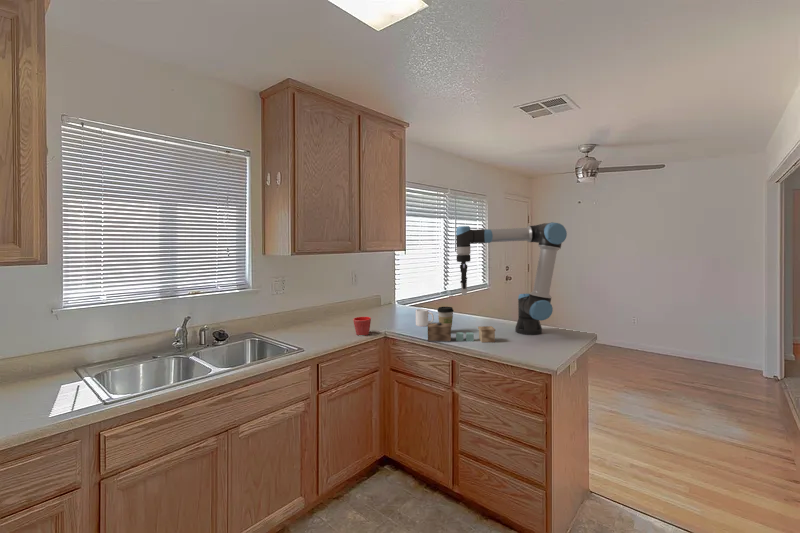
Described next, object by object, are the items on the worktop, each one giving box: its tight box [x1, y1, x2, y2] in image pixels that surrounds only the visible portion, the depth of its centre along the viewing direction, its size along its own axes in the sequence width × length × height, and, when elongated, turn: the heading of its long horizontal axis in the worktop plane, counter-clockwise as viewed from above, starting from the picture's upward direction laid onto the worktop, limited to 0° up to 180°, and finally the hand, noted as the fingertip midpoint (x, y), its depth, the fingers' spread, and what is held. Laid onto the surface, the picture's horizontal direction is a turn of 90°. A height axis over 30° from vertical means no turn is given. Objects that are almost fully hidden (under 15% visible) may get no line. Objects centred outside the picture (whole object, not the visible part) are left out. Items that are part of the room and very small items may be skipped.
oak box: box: [477, 325, 496, 343], centre depth 211 cm, size 8×8×7 cm
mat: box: [428, 341, 450, 343], centre depth 215 cm, size 11×9×1 cm
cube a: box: [465, 331, 475, 342], centre depth 212 cm, size 4×4×4 cm
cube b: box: [455, 331, 464, 342], centre depth 213 cm, size 4×4×4 cm
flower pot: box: [352, 316, 372, 336], centre depth 231 cm, size 11×11×10 cm
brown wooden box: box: [427, 321, 452, 342], centre depth 215 cm, size 13×8×9 cm, turn 81°
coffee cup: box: [437, 306, 454, 328], centre depth 231 cm, size 10×10×15 cm
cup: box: [415, 308, 435, 328], centre depth 251 cm, size 8×12×10 cm
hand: (464, 292), depth 211 cm, fingers open, 13 cm apart
